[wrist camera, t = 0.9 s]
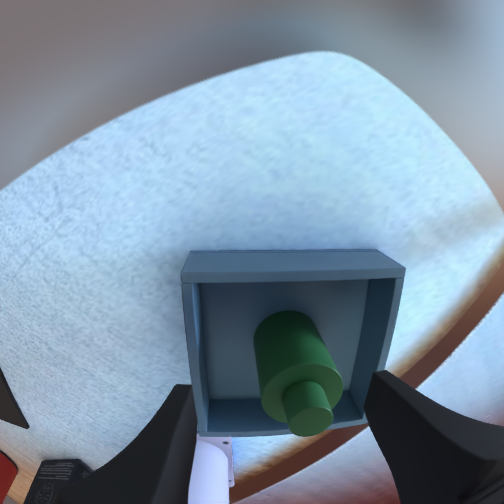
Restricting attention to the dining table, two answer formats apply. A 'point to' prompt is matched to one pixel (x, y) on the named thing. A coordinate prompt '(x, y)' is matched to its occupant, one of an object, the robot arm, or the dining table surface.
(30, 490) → the box
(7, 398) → the mat
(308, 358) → the bottle
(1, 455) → the beer can
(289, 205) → the dining table surface
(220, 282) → the case
